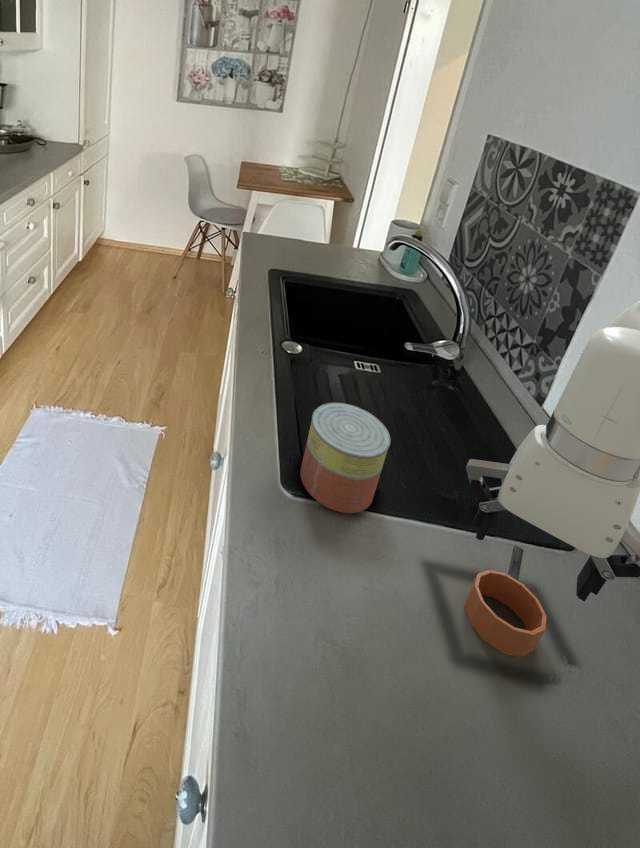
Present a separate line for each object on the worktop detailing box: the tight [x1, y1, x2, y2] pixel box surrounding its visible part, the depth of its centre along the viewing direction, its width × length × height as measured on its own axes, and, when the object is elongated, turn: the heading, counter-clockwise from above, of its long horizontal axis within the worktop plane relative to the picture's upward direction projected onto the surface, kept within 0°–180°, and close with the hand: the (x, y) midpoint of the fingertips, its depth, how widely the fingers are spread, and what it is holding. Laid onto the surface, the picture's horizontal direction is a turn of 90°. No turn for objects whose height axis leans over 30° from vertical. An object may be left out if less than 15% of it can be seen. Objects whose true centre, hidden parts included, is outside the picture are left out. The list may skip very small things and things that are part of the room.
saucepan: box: [463, 545, 548, 658], centre depth 63 cm, size 13×7×5 cm, turn 139°
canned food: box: [299, 402, 392, 514], centre depth 78 cm, size 11×11×12 cm
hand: (528, 559), depth 57 cm, fingers open, 9 cm apart
